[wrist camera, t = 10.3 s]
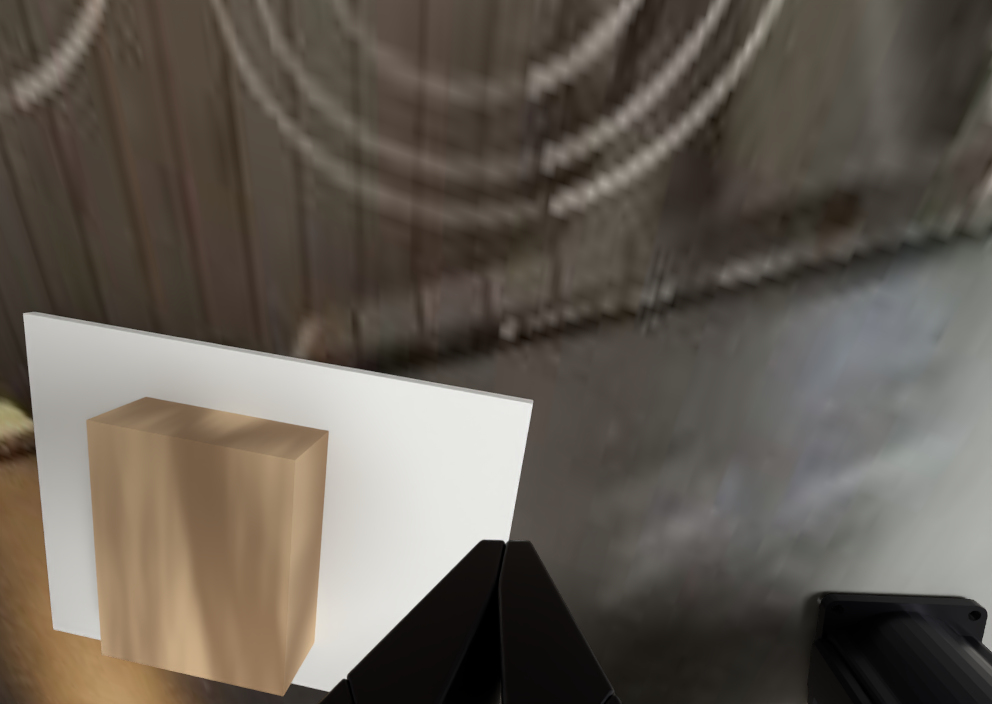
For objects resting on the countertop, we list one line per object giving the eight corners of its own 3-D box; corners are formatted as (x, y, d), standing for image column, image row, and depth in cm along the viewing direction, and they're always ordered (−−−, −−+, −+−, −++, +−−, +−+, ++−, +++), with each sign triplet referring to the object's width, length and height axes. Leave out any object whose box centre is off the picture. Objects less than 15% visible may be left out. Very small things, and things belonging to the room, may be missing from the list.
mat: (533, 400, 21) (532, 403, 20) (476, 715, 25) (475, 724, 25) (34, 311, 23) (23, 313, 22) (62, 622, 27) (53, 629, 26)
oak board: (295, 460, 19) (86, 420, 20) (283, 696, 22) (101, 654, 22) (328, 430, 22) (146, 396, 22) (314, 642, 25) (152, 607, 25)
